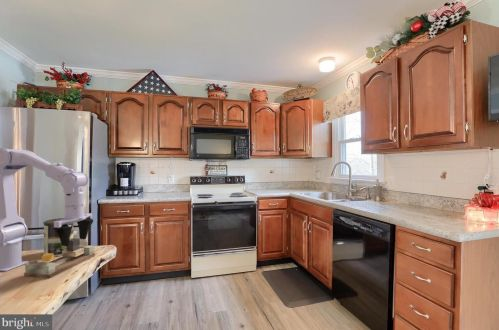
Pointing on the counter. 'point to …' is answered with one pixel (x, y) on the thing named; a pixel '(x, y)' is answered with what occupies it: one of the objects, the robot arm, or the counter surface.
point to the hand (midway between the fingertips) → (74, 242)
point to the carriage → (73, 248)
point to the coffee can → (53, 238)
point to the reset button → (47, 257)
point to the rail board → (57, 264)
